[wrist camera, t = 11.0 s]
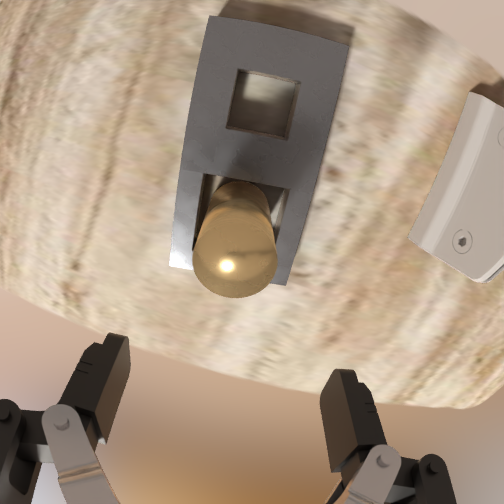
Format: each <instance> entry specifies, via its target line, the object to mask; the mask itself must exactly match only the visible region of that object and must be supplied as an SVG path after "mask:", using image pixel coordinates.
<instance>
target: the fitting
mask: <svg viewBox="0 0 504 504" xmlns="http://www.w3.org/2000/svg"><path fill="white" fill-rule="evenodd" d="M192 264H193V269H194V272H195V274H196V276H197V278H198V279H199V281H200V282H201V283H202V284H203V285H204V286H205V287H206V288H207V289H209V290H210V291H212V292H213V293H216V294H218V295H221V296H224V297H229V298H242V297H248V296H251V295H254V294H256V293H258V292H260V291H261V290H263V289H264V288H265V287H266V286H267V285H268V284H269V283H270V282H271V280H272V279H273V277H274V275H275V273H276V270H277V264H278V259H277V252H276V246H275V240H274V234H273V228H272V222H271V216H270V211H269V205H268V201H267V198H266V197H265V195H264V193H263V192H262V191H261V190H260V189H259V188H258V187H256V186H255V185H253V184H251V183H248V182H243V181H235V182H230V183H227V184H225V185H223V186H221V187H220V188H219V189H218V190H217V191H216V192H215V193H214V195H213V196H212V198H211V201H210V204H209V207H208V209H207V212H206V215H205V218H204V221H203V224H202V227H201V230H200V233H199V236H198V239H197V242H196V245H195V248H194V251H193V255H192Z"/></svg>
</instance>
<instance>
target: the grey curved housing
mask: <svg viewBox="0 0 504 504" xmlns="http://www.w3.org/2000/svg"><path fill="white" fill-rule="evenodd" d="M407 238H409V239H410V240H411V241H412V242H414V243H415V244H416V245H417V246H419V247H420V248H422V249H423V250H425V251H426V252H428V253H429V254H431V255H433V256H434V257H436V258H438V259H439V260H441V261H443V262H444V263H446V264H448V265H449V266H451V267H452V268H454V269H456V270H457V271H459V272H460V273H462V274H464V275H465V276H467V277H468V278H470V279H471V280H473V281H475V282H481V283H487V282H489V281H491V280H492V279H493V278H495V277H496V276H497V275H498V274H499V273H500V272H502V271H503V270H504V108H503V107H501V106H499V105H497V104H496V103H494V102H492V101H491V100H489V99H487V98H486V97H484V96H482V95H479V94H476V93H473V92H469V93H468V96H467V99H466V102H465V105H464V108H463V111H462V114H461V117H460V119H459V122H458V125H457V128H456V130H455V133H454V136H453V138H452V141H451V143H450V146H449V148H448V151H447V153H446V156H445V158H444V160H443V163H442V165H441V167H440V170H439V172H438V174H437V177H436V179H435V181H434V183H433V186H432V188H431V190H430V192H429V194H428V196H427V199H426V201H425V203H424V205H423V207H422V209H421V211H420V213H419V215H418V217H417V219H416V221H415V223H414V225H413V227H412V229H411V231H410V233H409V235H408V237H407Z"/></svg>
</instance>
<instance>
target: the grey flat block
mask: <svg viewBox="0 0 504 504" xmlns="http://www.w3.org/2000/svg"><path fill="white" fill-rule="evenodd" d="M348 49H349V46H348V45H345V44H342V43H338V42H335V41H332V40H329V39H325V38H322V37H318V36H315V35H311V34H307V33H303V32H300V31H296V30H291V29H287V28H283V27H278V26H273V25H268V24H263V23H258V22H252V21H246V20H240V19H234V18H226V17H218V16H210V15H209V19H208V23H207V28H206V32H205V36H204V40H203V45H202V49H201V54H200V58H199V63H198V68H197V72H196V77H195V82H194V87H193V93H192V98H191V103H190V109H189V115H188V120H187V126H186V132H185V138H184V145H183V151H182V158H181V165H180V172H179V179H178V187H177V195H176V203H175V212H174V221H173V230H172V240H171V251H170V262H169V266H173V267H179V268H184V269H190V270H194V269H193V264H192V255H193V251H194V248H195V245H196V242H197V239H198V238H196V236H197V229H198V222H199V215H200V208H201V202H202V195H203V189H204V183H205V177H206V174H212V175H218V176H224V177H229V178H235V179H240V180H246V181H251V182H256V183H261V184H266V185H271V186H276V187H281V188H284V192H283V197H282V201H281V205H280V209H279V213H278V217H277V221H276V225H275V229H274V233H273V234H274V240H275V246H276V252H277V259H278V264H277V270H276V273H275V275H274V277H273V279H272V280H271V282H270V283H272V284H278V285H285V286H286V284H287V280H288V277H289V274H290V270H291V267H292V264H293V260H294V257H295V254H296V250H297V247H298V244H299V240H300V237H301V233H302V230H303V226H304V223H305V219H306V216H307V212H308V209H309V205H310V201H311V198H312V194H313V191H314V187H315V183H316V179H317V176H318V172H319V168H320V165H321V161H322V157H323V153H324V149H325V145H326V141H327V138H328V134H329V130H330V126H331V122H332V118H333V114H334V109H335V105H336V101H337V97H338V93H339V89H340V84H341V80H342V76H343V71H344V67H345V63H346V58H347V54H348ZM238 72H245V73H250V74H256V75H261V76H266V77H270V78H275V79H280V80H284V81H288V82H293V83H296V87H295V92H294V96H293V100H292V105H291V109H290V113H289V118H288V122H287V126H286V131H285V135H284V137H281V136H277V135H272V134H267V133H263V132H258V131H252V130H247V129H242V128H236V127H231V126H228V120H229V115H230V110H231V106H232V101H233V96H234V91H235V86H236V82H237V77H238Z"/></svg>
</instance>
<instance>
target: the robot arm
mask: <svg viewBox="0 0 504 504" xmlns="http://www.w3.org/2000/svg"><path fill="white" fill-rule="evenodd" d="M130 366H131V363H130V350H129V339H128V337H126V336H122V335H118V334H114V333H108V334H107V336H106V338H105V340H104V342H103V344H99V343H95V342H94V343H93V344H92V345H91V346H89V347H88V348H87V349H86V350H85V351H84V353H83V355H82V357H81V358H80V361H79V363H78V364H77V366H76V368H75V371H74V372H73V374H72V376H71V378H70V380H69V382H68V384H67V386H66V389H65V390H64V392H63V395H62V397H61V399H60V401H59V402H58V403H57V404H56V405H53V406H51V407H49V408H48V409H47V410H46V411H30V410H20V409H19V407H18V405H16V403H14V402H13V401H11V400H8V399H1V400H0V504H31V502H32V498H33V494H34V490H35V486H36V483H37V479H38V476H39V472H40V469H41V465H42V462H43V463H54V464H55V466H56V469H57V472H58V476H59V477H58V482H59V485H60V488H61V490H62V493H63V495H64V498H65V500H66V502H67V504H120V502H119V500H118V498H117V497H116V495H115V493H114V491H113V489H112V487H111V486H110V483H109V482H108V479H107V478H106V475H105V473H104V471H103V469H102V467H101V465H100V463H99V461H98V458H97V456H96V454H95V450H96V446H97V443H98V442H99V443H102V444H105V445H106V443H107V440H108V437H109V434H110V431H111V427H112V424H113V421H114V418H115V415H116V412H117V409H118V406H119V403H120V400H121V397H122V394H123V391H124V389H125V386H126V383H127V380H128V377H129V373H130ZM320 409H321V414H322V420H323V426H324V432H325V438H326V443H327V450H328V456H329V462H330V468H331V472H332V473H333V472H341V476H342V478H341V479H340V480H339V482H338V483H337V484H336V486H335V488H334V489H333V491H332V492H331V494H330V495H329V497H328V498H327V499H326V501H325V502H324V504H457V503H456V499H455V495H454V491H453V488H452V484H451V480H450V477H449V473H448V470H447V466H446V464H445V462H444V461H443V459H442V458H440V457H439V456H437V455H435V454H428V455H425V456H424V457H423V458H421V459H420V460H415V459H410V458H404V457H401V456H400V455H399V453H398V452H397V451H396V450H395V449H394V448H393V447H391V446H388V445H387V442H386V439H385V436H384V432H383V429H382V426H381V422H380V419H379V416H378V413H377V409H376V406H375V405H374V400H373V397H372V394H371V392H370V390H369V389H368V388H367V386H366V385H365V384H364V383H359V382H358V379H357V376H356V373H355V371H354V370H349V369H335V370H334V371H333V372H332V374H331V376H330V378H329V380H328V382H327V383H326V385H325V387H324V389H323V390H322V393H321V396H320Z"/></svg>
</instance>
